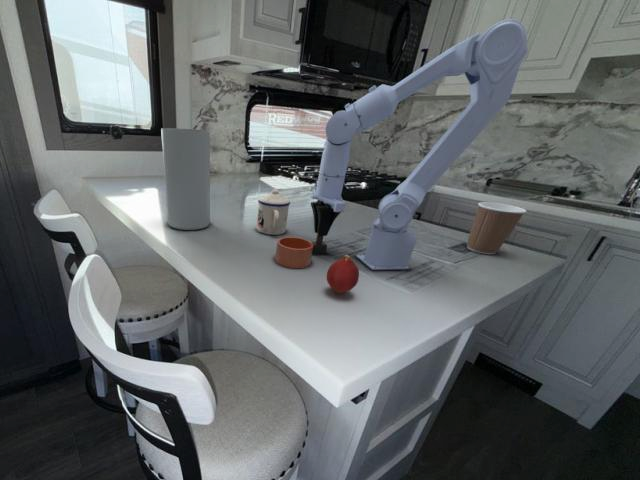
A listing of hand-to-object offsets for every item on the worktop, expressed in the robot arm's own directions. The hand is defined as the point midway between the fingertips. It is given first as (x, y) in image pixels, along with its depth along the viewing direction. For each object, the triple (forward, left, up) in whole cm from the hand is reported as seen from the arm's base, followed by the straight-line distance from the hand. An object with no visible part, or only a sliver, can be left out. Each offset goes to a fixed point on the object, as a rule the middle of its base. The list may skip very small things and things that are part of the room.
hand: (320, 234), depth 75 cm
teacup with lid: (+8, -16, -5) cm, 19 cm away
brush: (0, 0, -5) cm, 5 cm away
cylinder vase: (+32, -23, -5) cm, 40 cm away
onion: (+3, +21, -5) cm, 21 cm away
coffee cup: (-49, -1, -5) cm, 49 cm away
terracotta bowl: (+8, +5, -5) cm, 11 cm away
